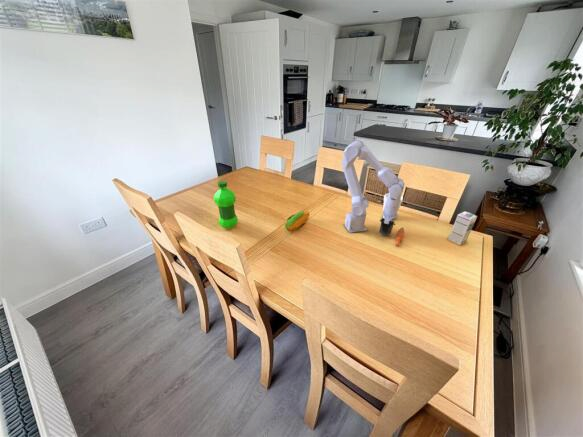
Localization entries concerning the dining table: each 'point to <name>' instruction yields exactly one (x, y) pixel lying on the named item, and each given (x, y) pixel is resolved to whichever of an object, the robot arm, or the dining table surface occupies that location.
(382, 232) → the mug
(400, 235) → the carrot
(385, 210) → the robot arm
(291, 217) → the hot dog
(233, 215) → the plastic bottle
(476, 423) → the dining table surface
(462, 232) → the syrup box
